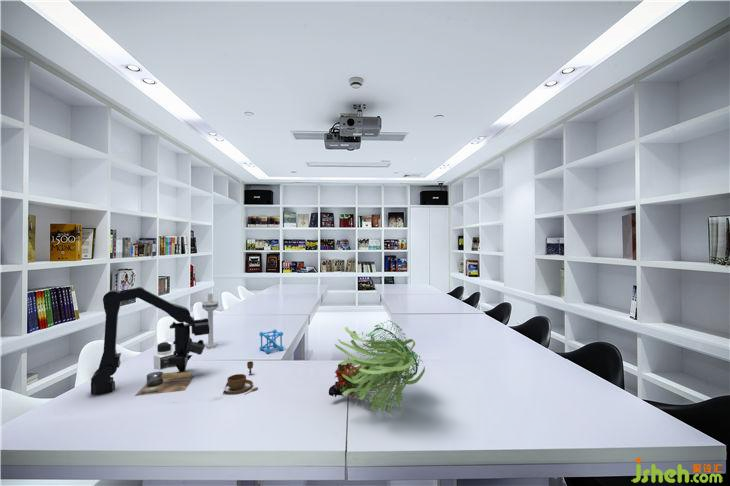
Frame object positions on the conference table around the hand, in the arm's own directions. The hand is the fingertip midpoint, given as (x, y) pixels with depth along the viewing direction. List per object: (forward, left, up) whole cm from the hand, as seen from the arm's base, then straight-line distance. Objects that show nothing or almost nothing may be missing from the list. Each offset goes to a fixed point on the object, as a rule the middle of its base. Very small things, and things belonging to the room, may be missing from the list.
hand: (182, 374), depth 146 cm
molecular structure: (+35, +34, -3) cm, 49 cm away
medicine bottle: (-12, +18, -3) cm, 22 cm away
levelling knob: (-4, -5, -1) cm, 6 cm away
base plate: (-4, -8, -2) cm, 9 cm away
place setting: (+26, -12, -3) cm, 29 cm away
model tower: (+2, +49, -3) cm, 49 cm away
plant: (+74, -40, -3) cm, 84 cm away
